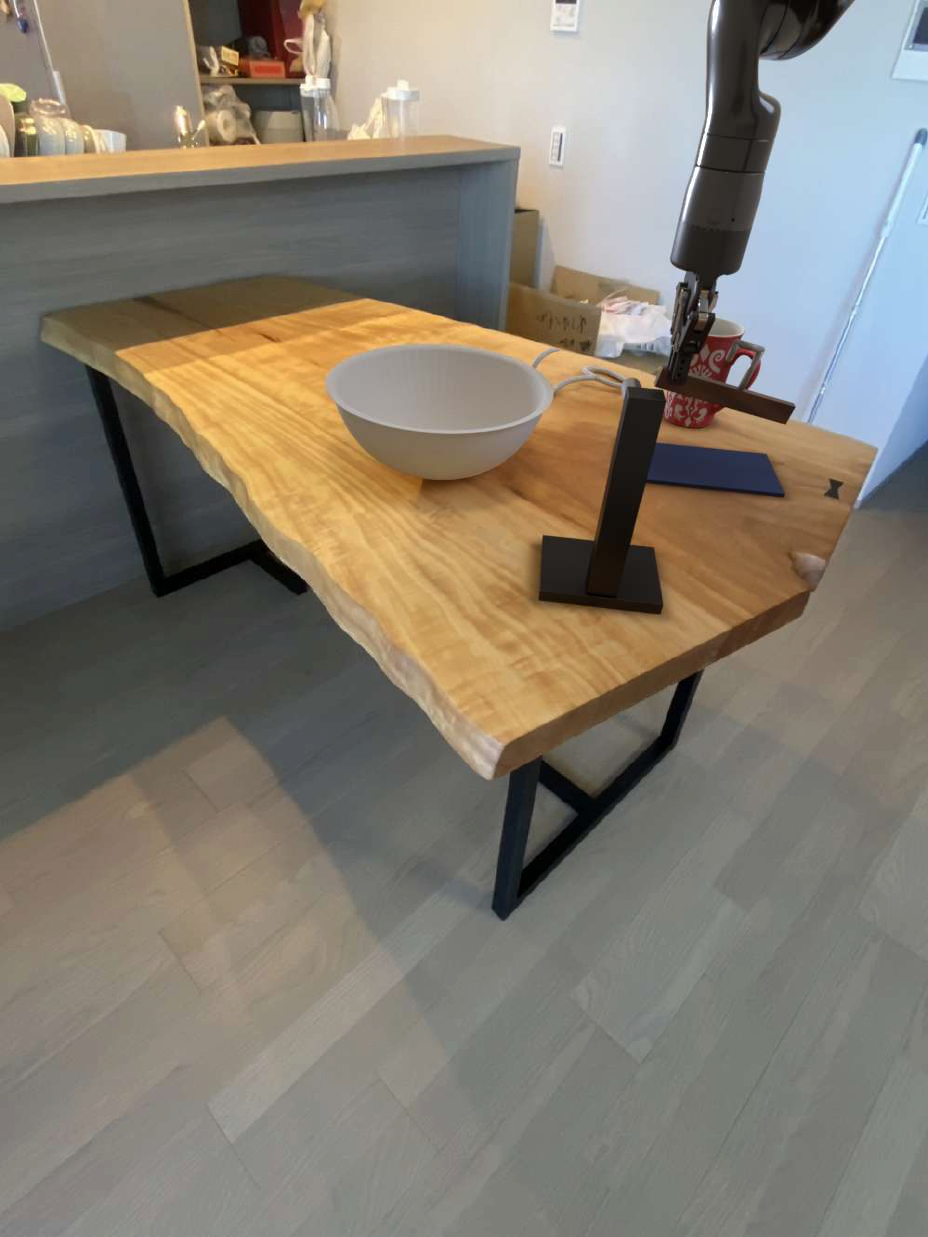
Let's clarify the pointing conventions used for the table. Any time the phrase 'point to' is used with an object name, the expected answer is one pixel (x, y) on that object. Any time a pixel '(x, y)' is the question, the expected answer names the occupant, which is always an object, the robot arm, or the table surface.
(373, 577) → the table surface
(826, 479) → the table surface
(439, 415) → the bowl
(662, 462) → the mat
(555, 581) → the coat stand
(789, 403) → the hanger
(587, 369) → the hook
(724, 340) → the mug
